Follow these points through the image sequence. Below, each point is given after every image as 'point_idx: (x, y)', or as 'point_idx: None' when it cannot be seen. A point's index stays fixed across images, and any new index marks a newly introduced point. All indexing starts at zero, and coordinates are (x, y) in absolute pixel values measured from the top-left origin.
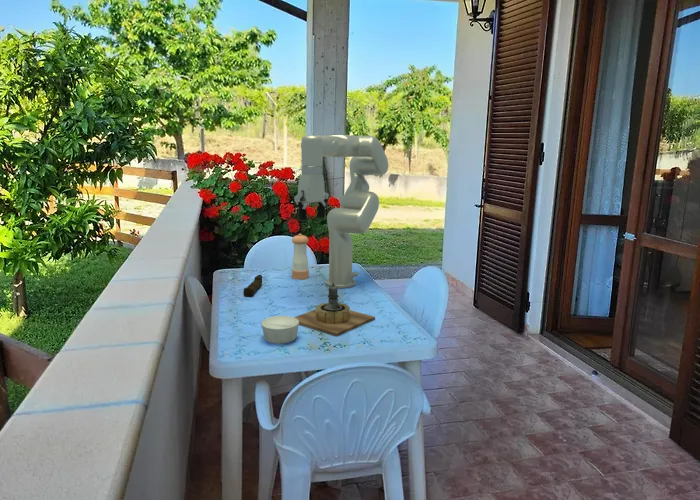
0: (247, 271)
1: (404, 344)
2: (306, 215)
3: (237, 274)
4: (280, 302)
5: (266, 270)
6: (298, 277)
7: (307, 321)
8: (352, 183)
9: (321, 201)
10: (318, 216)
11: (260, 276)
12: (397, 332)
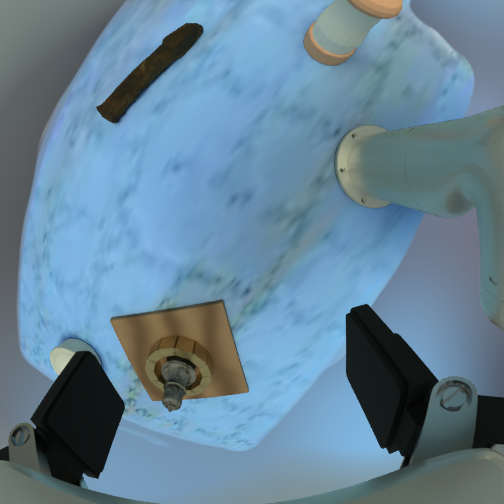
0: None
1: (215, 443)
2: (112, 434)
3: None
4: (146, 200)
5: None
6: (312, 53)
7: (132, 348)
8: None
9: None
10: (346, 329)
11: (181, 37)
12: (237, 425)
